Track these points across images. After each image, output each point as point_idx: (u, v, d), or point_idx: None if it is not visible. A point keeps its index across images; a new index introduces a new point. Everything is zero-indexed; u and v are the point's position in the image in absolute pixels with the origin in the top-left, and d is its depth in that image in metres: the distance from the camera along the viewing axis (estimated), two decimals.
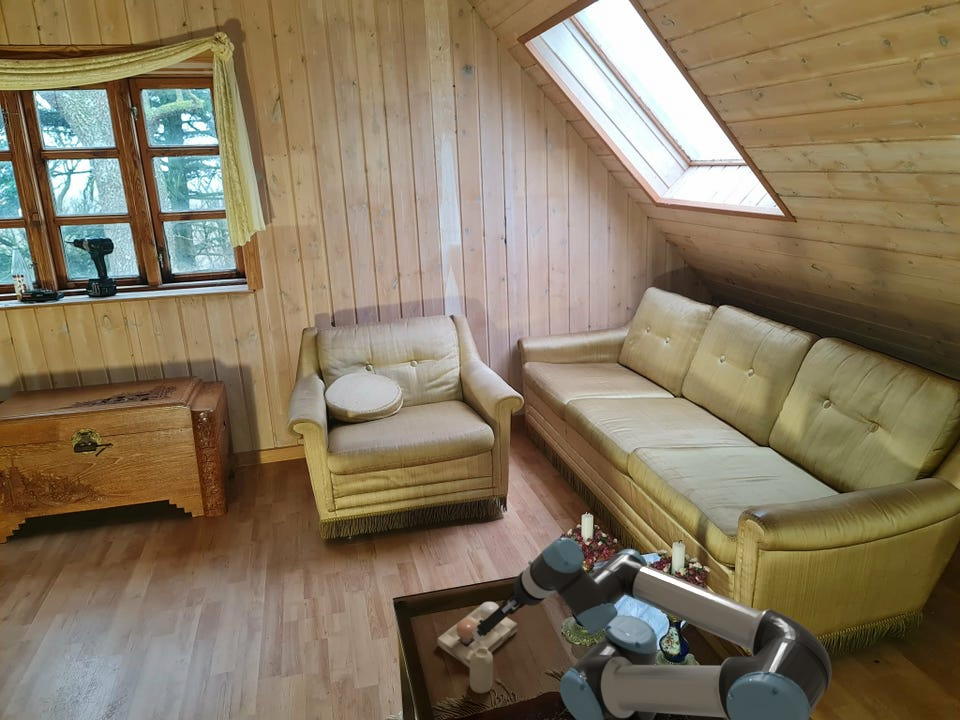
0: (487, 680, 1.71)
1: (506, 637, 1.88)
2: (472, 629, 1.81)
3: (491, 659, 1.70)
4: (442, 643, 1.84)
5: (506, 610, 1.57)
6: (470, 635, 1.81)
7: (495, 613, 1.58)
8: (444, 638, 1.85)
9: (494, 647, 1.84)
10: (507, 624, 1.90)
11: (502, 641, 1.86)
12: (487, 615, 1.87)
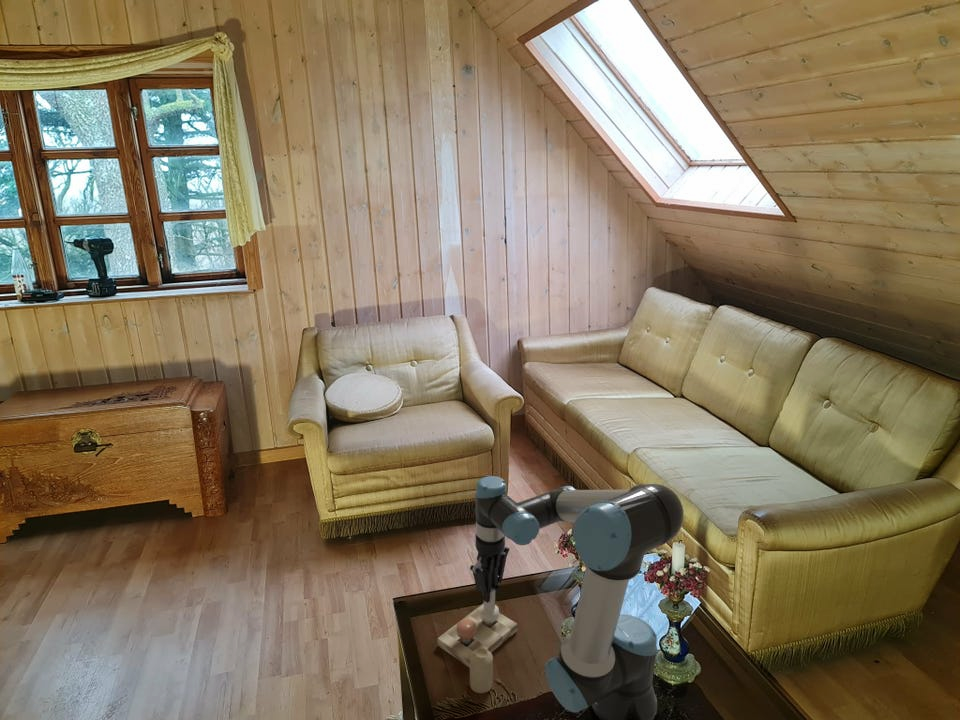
0: (487, 680, 1.71)
1: (506, 637, 1.88)
2: (472, 629, 1.81)
3: (491, 659, 1.70)
4: (442, 643, 1.84)
5: (474, 572, 1.79)
6: (470, 635, 1.81)
7: (474, 576, 1.81)
8: (444, 638, 1.85)
9: (494, 647, 1.84)
10: (507, 624, 1.90)
11: (502, 641, 1.86)
12: (487, 617, 1.87)
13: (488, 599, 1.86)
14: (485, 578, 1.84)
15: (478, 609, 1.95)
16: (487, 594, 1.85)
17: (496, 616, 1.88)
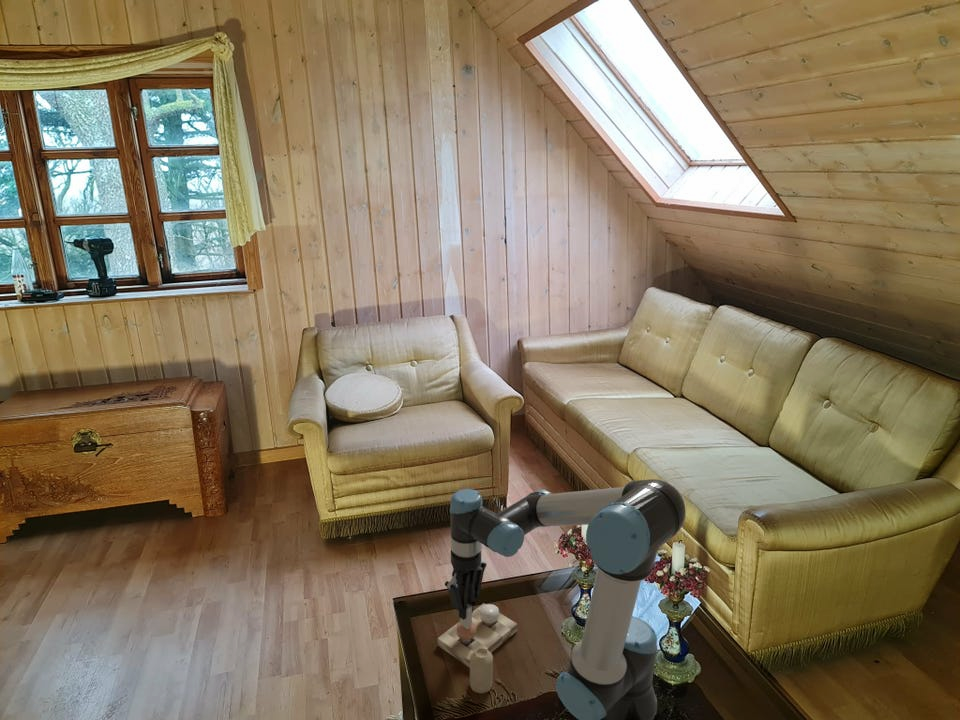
0: (487, 680, 1.71)
1: (506, 637, 1.88)
2: (472, 630, 1.82)
3: (491, 659, 1.70)
4: (442, 643, 1.84)
5: (449, 588, 1.73)
6: (470, 635, 1.81)
7: (450, 592, 1.75)
8: (444, 638, 1.85)
9: (494, 647, 1.84)
10: (507, 624, 1.90)
11: (502, 641, 1.86)
12: (487, 618, 1.87)
13: (464, 616, 1.80)
14: (461, 594, 1.77)
15: (478, 609, 1.95)
16: (463, 611, 1.79)
17: (496, 617, 1.88)
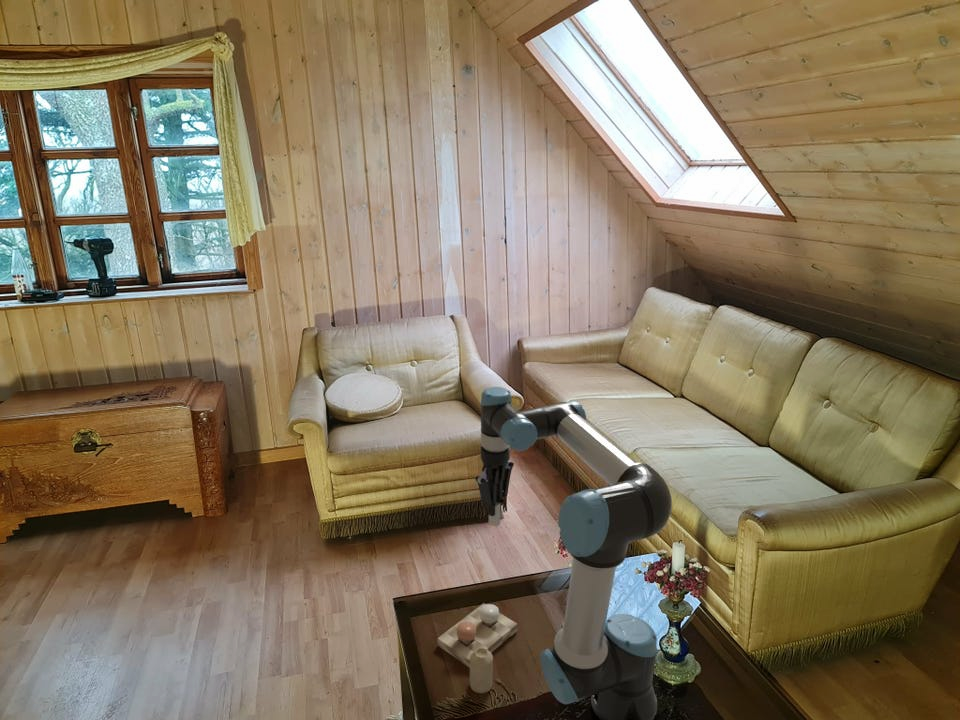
0: (487, 680, 1.71)
1: (506, 637, 1.88)
2: (472, 632, 1.82)
3: (491, 659, 1.70)
4: (442, 643, 1.84)
5: (480, 482, 1.81)
6: (470, 637, 1.81)
7: (480, 488, 1.84)
8: (444, 638, 1.85)
9: (494, 647, 1.84)
10: (507, 624, 1.90)
11: (502, 641, 1.86)
12: (487, 618, 1.87)
13: (493, 513, 1.89)
14: (490, 491, 1.86)
15: (478, 609, 1.95)
16: (492, 507, 1.88)
17: (496, 617, 1.88)
